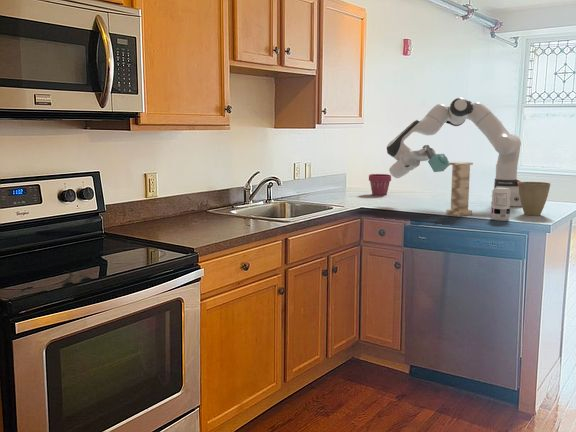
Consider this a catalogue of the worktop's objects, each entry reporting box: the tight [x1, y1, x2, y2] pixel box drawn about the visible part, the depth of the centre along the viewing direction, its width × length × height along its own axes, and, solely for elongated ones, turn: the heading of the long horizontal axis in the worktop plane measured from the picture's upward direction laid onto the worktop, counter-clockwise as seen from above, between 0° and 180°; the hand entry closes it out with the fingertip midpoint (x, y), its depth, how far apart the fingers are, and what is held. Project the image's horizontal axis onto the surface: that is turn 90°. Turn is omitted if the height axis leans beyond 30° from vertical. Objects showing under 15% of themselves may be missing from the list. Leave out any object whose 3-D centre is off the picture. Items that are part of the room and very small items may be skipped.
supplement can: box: [490, 187, 511, 221], centre depth 278 cm, size 8×8×15 cm
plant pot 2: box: [518, 181, 551, 216], centre depth 292 cm, size 15×15×16 cm
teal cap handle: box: [421, 144, 450, 173], centre depth 304 cm, size 16×7×7 cm
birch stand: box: [445, 161, 474, 217], centre depth 293 cm, size 9×9×26 cm
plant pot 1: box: [368, 173, 392, 197], centre depth 372 cm, size 14×14×13 cm
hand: (429, 148), depth 307 cm, fingers closed on teal cap handle, 3 cm apart
